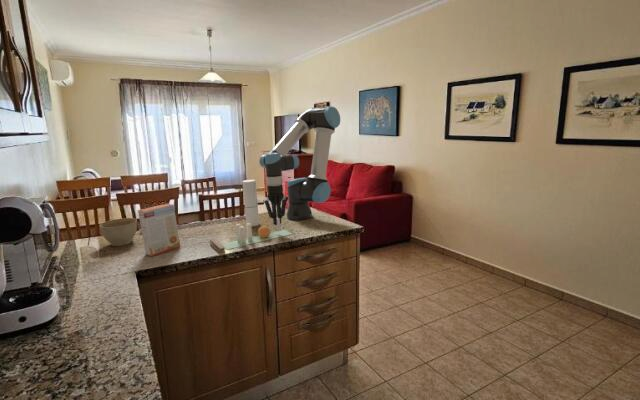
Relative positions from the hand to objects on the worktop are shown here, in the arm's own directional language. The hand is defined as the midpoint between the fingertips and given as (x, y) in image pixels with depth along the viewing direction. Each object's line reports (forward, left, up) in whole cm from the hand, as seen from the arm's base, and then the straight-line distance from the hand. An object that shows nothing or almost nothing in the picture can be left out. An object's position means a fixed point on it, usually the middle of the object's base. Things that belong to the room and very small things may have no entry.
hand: (278, 230), depth 173 cm
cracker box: (+52, -14, -2) cm, 54 cm away
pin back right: (+19, -3, -2) cm, 20 cm away
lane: (+11, 0, -2) cm, 11 cm away
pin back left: (+19, +2, -2) cm, 20 cm away
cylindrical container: (+3, -26, -2) cm, 26 cm away
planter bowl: (+67, -40, -2) cm, 78 cm away
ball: (+8, 0, +1) cm, 8 cm away
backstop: (+31, 0, -2) cm, 31 cm away
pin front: (+15, 0, -2) cm, 15 cm away
